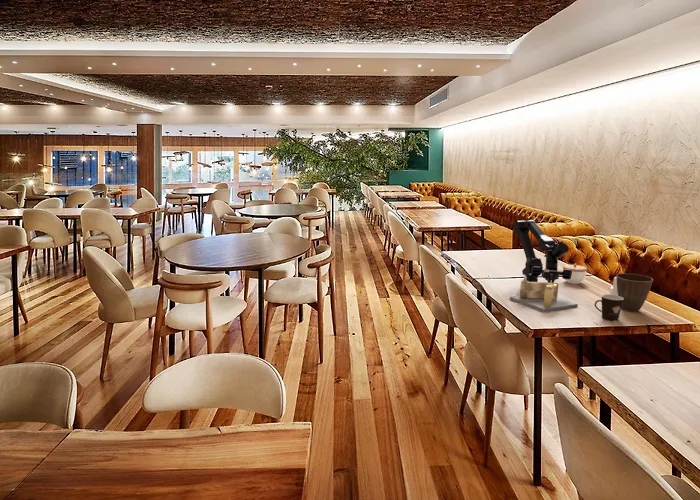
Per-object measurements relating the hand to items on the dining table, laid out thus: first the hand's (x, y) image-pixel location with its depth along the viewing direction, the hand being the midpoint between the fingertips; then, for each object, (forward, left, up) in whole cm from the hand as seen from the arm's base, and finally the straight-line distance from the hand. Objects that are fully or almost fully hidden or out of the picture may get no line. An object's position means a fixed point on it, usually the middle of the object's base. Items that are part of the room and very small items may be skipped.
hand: (550, 286), depth 239 cm
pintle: (-4, -13, +4) cm, 14 cm away
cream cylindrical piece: (+14, +34, -7) cm, 37 cm away
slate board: (+3, -7, -7) cm, 10 cm away
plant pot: (+27, +24, -7) cm, 36 cm away
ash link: (-1, -7, -5) cm, 9 cm away
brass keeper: (+9, -10, -7) cm, 15 cm away
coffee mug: (+31, +2, -7) cm, 32 cm away
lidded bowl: (-20, +41, -7) cm, 46 cm away
